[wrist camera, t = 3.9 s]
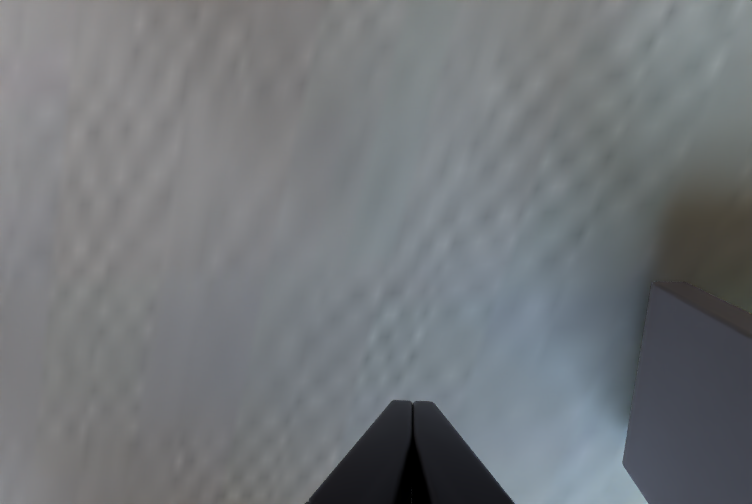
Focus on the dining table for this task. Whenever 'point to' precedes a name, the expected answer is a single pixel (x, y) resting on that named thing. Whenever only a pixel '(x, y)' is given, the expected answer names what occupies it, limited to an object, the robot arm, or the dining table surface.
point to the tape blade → (692, 400)
